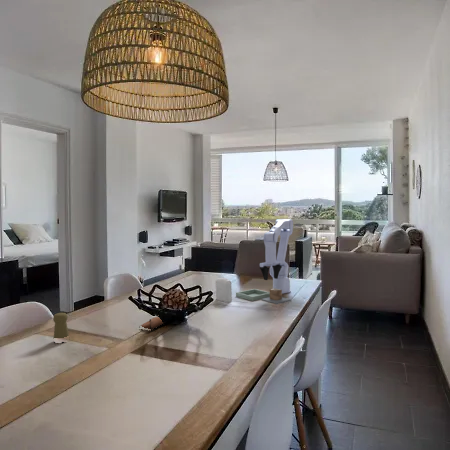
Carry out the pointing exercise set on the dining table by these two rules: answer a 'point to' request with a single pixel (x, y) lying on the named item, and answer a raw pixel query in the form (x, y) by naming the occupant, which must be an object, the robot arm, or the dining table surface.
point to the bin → (253, 294)
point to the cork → (60, 325)
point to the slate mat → (277, 300)
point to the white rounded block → (223, 290)
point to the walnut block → (275, 294)
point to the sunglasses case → (152, 323)
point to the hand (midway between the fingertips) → (270, 279)
